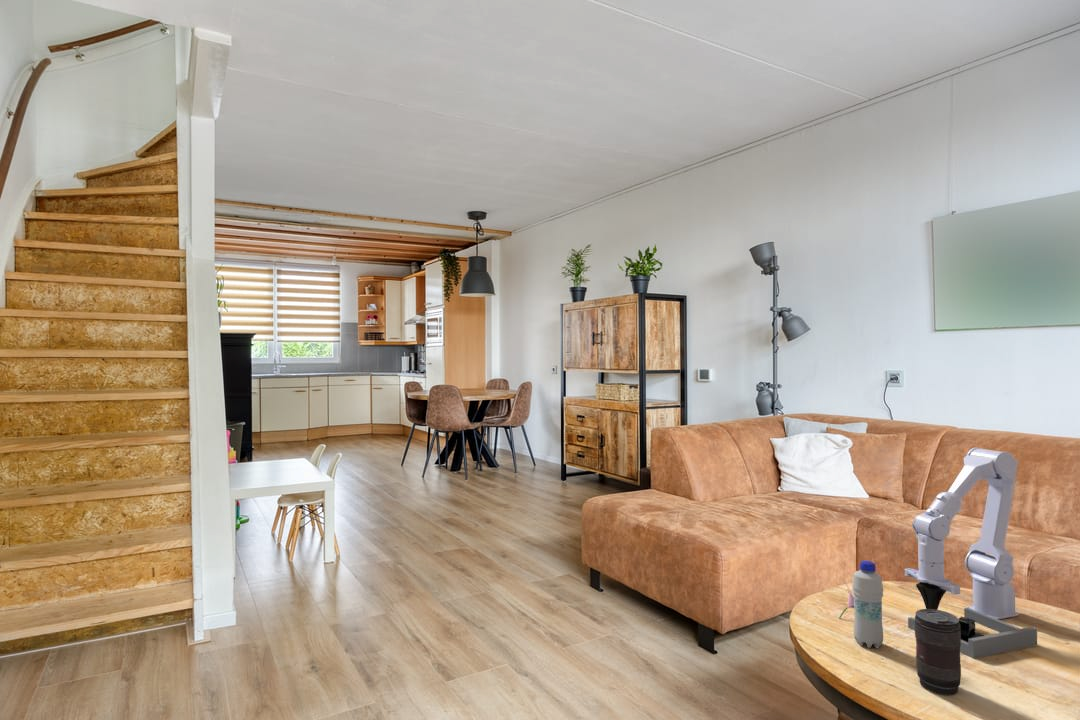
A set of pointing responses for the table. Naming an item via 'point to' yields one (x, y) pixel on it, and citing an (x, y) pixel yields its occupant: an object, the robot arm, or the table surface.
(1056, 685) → the table surface
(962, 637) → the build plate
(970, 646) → the dock
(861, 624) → the bottle
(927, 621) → the camera lens
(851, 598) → the lily
